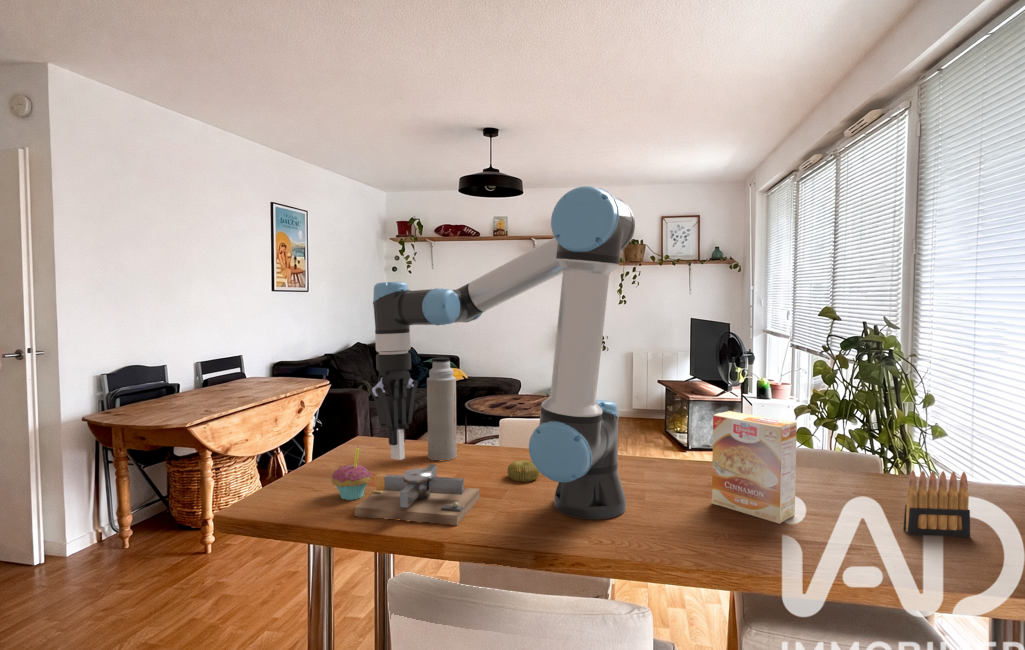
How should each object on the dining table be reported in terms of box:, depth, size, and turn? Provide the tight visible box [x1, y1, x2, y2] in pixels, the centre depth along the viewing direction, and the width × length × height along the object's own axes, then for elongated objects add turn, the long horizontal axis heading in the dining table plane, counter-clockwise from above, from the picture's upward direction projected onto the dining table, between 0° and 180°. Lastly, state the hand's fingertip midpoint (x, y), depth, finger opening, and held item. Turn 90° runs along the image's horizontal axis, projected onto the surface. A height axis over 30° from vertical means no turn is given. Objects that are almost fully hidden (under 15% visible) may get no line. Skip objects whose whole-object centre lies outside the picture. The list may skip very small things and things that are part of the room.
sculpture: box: [507, 459, 541, 483], centre depth 143 cm, size 8×4×8 cm
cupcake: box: [330, 444, 372, 501], centre depth 130 cm, size 9×8×12 cm
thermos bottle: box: [426, 356, 458, 461], centre depth 161 cm, size 8×8×28 cm
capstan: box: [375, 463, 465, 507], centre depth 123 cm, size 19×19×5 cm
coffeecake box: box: [711, 410, 798, 525], centre depth 121 cm, size 15×7×20 cm, turn 40°
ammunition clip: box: [902, 469, 971, 538], centre depth 108 cm, size 11×2×12 cm, turn 83°
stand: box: [354, 487, 481, 526], centre depth 124 cm, size 22×16×4 cm
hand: (397, 458), depth 128 cm, fingers closed
